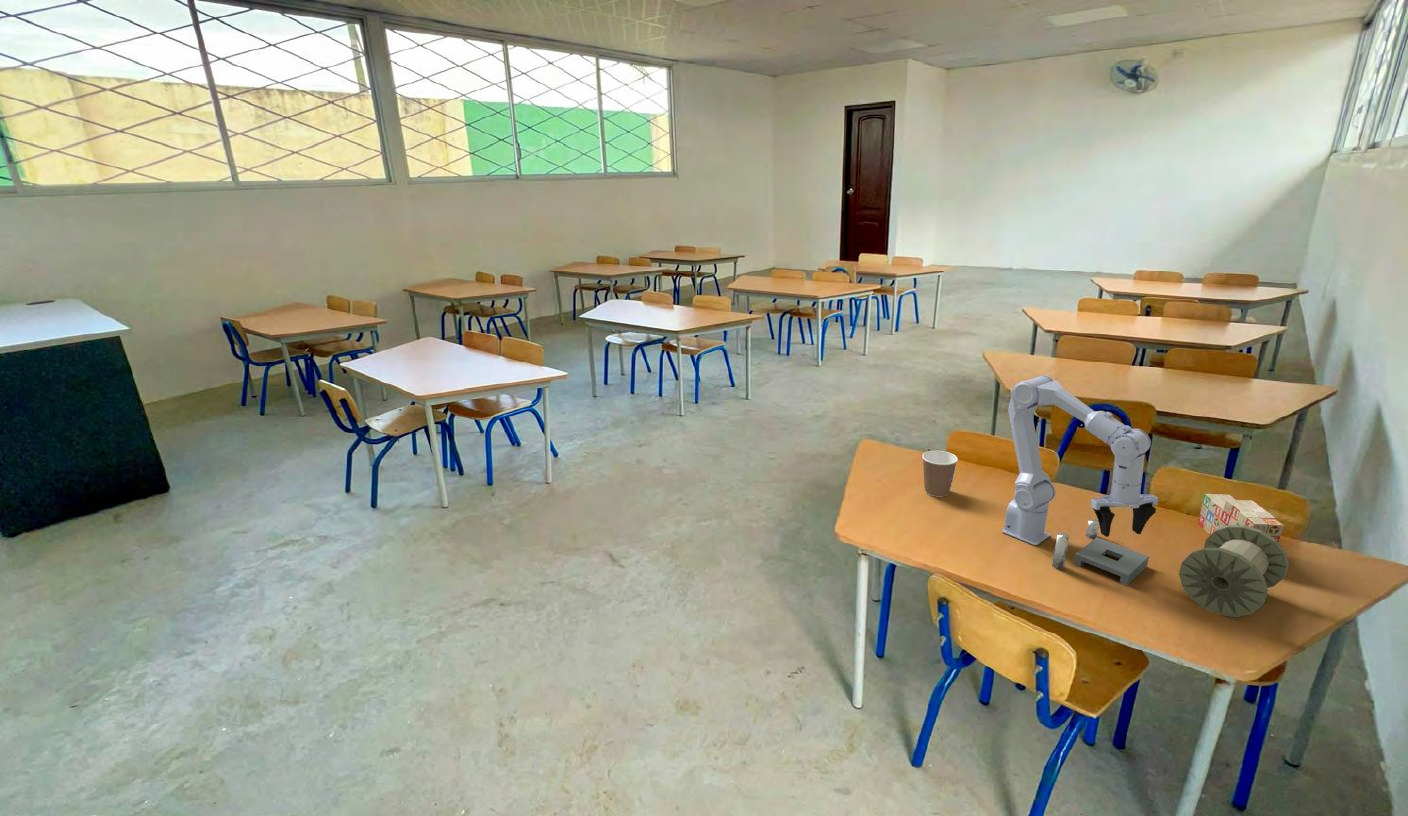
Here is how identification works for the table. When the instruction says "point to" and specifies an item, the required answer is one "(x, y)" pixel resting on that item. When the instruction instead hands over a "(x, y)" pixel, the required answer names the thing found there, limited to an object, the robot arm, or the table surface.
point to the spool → (1234, 570)
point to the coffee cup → (938, 472)
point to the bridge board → (1124, 567)
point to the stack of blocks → (1236, 515)
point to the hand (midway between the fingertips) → (1120, 533)
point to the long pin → (1060, 551)
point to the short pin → (1092, 528)
